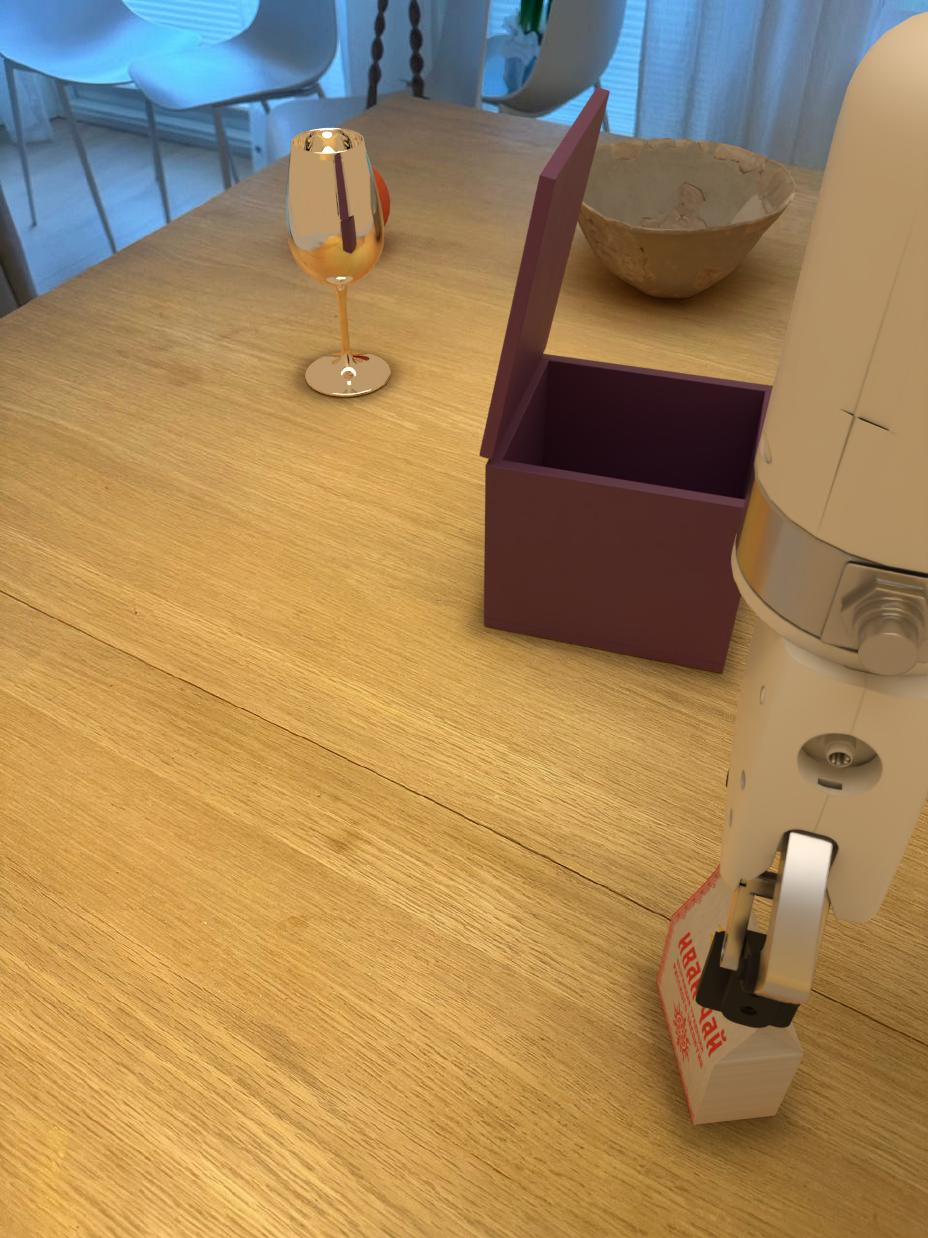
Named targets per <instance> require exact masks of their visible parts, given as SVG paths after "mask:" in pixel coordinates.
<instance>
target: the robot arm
mask: <svg viewBox="0 0 928 1238" xmlns="http://www.w3.org/2000/svg"><path fill="white" fill-rule="evenodd" d="M845 90H846V91H845V95H844V97H843V100H842V104H841V107H840V110H839V114H838V118H837V121H836V124H835V128H834V132H833V136H832V141H831V145H830V148H829V152H828V156H827V160H826V165H825V169H824V173H823V178H822V181H821V185H820V190H819V194H818V198H817V202H816V206H815V211H814V214H813V219H812V222H811V227H810V231H809V235H808V239H807V244H806V247H805V252H804V256H803V260H802V264H801V268H800V273H799V275H798V276H799V277H798V281H797V284H796V288H795V293H794V297H793V301H792V306H791V310H790V314H789V318H788V321H787V325H786V330H785V334H784V338H783V343H782V346H781V351H780V355H779V359H778V363H777V367H776V370H775V375H774V379H773V383H772V384H773V385H772V386H773V388H772V392H771V396H770V400H769V404H768V409H767V413H766V417H765V421H764V425H763V429H762V433H761V438H760V442H759V446H758V450H757V452H756V457H755V461H754V465H753V469H752V473H751V477H750V481H749V485H748V489H747V494H746V498H745V502H744V506H743V510H742V514H741V518H740V522H739V526H738V531H737V534H736V537H735V541H734V545H733V550H732V555H731V566H732V572H733V578H734V581H735V582H736V584H737V587H738V589H739V592H740V594H741V597H742V598H743V600H744V601H745V603H746V604H747V605H748V607H749V609H751V610H752V612H753V613H754V614H755V615H756V616H757V617H756V620H755V624H754V628H753V632H752V635H751V639H750V643H749V647H748V652H747V657H746V661H745V665H744V669H743V675H742V680H741V685H740V691H739V697H738V702H737V706H736V707H737V708H736V713H735V720H734V725H733V733H732V741H731V750H730V759H729V767H728V770H727V774H726V780H725V787H726V794H725V803H724V804H725V805H724V817H723V829H722V839H721V840H722V841H721V851H720V860H719V864H720V874H721V876H722V878H723V880H724V881H725V883H726V884H727V885H728V886H729V888H730V889H731V890H732V891H733V892H734V894H733V899H732V904H731V908H730V913H729V917H728V922H727V926H726V931H720V932H717V931H716V932H715V935H714V938H713V941H712V944H711V947H710V950H709V953H708V956H707V959H706V962H705V965H704V967H703V970H702V973H701V976H700V979H699V982H698V985H697V992H696V999H695V1001H696V1003H697V1004H698V1005H700V1006H702V1007H705V1008H708V1009H712V1010H715V1011H719V1012H722V1014H723V1016H724V1017H725V1018H726V1019H728V1020H729V1021H731V1022H734V1023H737V1024H740V1025H744V1026H748V1027H752V1028H764V1027H767V1026H769V1025H770V1026H773V1027H778V1028H786V1027H788V1026H789V1025H790V1024H791V1022H793V1020H794V1018H795V1016H796V1013H797V1011H798V1009H799V1007H800V1006H802V1005H803V1004H807V1003H808V1001H809V999H810V995H811V992H812V986H813V983H814V978H815V976H816V975H815V974H816V972H817V966H818V961H819V957H820V956H819V955H820V952H821V948H822V945H823V940H824V935H825V930H826V925H827V921H828V917H829V913H830V908H831V910H832V913H833V915H834V918H835V919H836V920H838V921H843V922H848V923H853V924H859V925H863V924H865V923H867V922H868V921H870V920H872V918H873V917H874V916H876V915H877V914H878V912H879V911H880V909H881V907H882V904H883V903H884V901H885V899H886V896H887V894H888V892H889V890H890V887H891V885H892V882H893V880H894V878H895V875H896V873H897V870H898V869H899V866H900V863H901V862H902V859H903V857H904V854H905V852H906V850H907V848H908V844H909V843H910V840H911V838H912V835H913V833H914V831H915V828H916V826H917V824H918V821H919V819H920V816H921V814H922V811H923V809H924V806H925V804H926V801H927V798H928V11H924V12H921V13H917V14H914V15H912V16H910V17H909V18H908V17H907V19H905V20H904V21H901V22H900V23H898V24H897V25H895V26H894V27H892V28H890V29H888V30H887V31H885V32H884V33H883V34H882V35H881V37H880V38H878V39H877V40H876V42H874V44H873V45H871V46H870V48H869V49H868V50H867V52H866V53H865V55H864V56H863V58H862V59H861V61H860V62H859V64H858V66H857V67H856V68H855V70H854V72H853V74H852V76H851V78H850V81H849V83H848V85H847V88H846V89H845ZM777 852H779V853H780V856H779V860H778V868H777V872H775V871H771V870H769V869H770V868H771V867H772V866H773V863H774V860H775V857H776V854H777ZM755 896H756V897H761V898H763V899H768V900H772V903H771V909H770V916H769V922H768V927H767V933H762V932H761V933H759V932H755V931H751V930H747V928H748V924H749V919H750V915H751V910H752V907H753V906H754V901H755Z"/></svg>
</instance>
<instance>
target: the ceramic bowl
mask: <svg viewBox="0 0 928 1238" xmlns="http://www.w3.org/2000/svg"><path fill="white" fill-rule="evenodd" d="M797 188H798V187H797V185H796V182H795V180H794V178H793V176H792V175H791V173H790V171H789V170H788V169H787V167H786V166H785V165H784V164H782V163H781V162H779V161H777V160H774V159H773V158H769V159H768V157H767V156H766V155H764V154H758V153H755V152H753V151H750V150H748V149H745V148H742V147H740V146H735V145H732V144H728V143H723V142H717V141H714V140H709V141H708V140H703V139H700V140H698V141H697V140H696V139H695V138H693V139H692V138H677V139H675V138H671V137H663V138H661V137H660V138H650V139H648V140H647V141H645V140H644V139H630V140H624V141H620V142H614V143H608V142H607V143H604V144H602V145H598V146H596V150H595V154H594V158H593V162H592V166H591V170H590V174H589V178H588V182H587V186H586V190H585V194H584V198H583V202H582V206H581V210H580V214H579V218H578V222H577V224H578V225H579V227H580V229H581V232H582V234H583V237H584V240H585V241H586V242H587V244H588V246H589V247H590V249H591V250H592V252H593V254H594V255H595V257H596V259H598V261H599V262H600V263H601V264H602V265H603V267H604V268H605V269H606V270H608V271H609V272H610V274H612V275H614V277H617V278H618V279H620V280H621V281H623V282H625V283H626V284H628V285H629V286H631V287H633V288H635V289H637V290H638V291H640V292H642V293H644V294H645V295H648V296H650V297H653V298H660V299H685V298H690V297H694V296H695V295H697V294H700V293H701V292H703V291H705V290H708V289H709V288H711V286H713V285H715V284H716V283H717V282H720V281H721V280H724V278H726V277H727V276H729V275H730V274H731V273H732V272H733V271H734V270H735V269H736V268H737V266H739V264H740V263H741V262H743V260H744V259H745V258H746V256H747V255H748V254H750V252H751V251H752V250H753V249H754V248H755V246H756V245H757V244H758V242H759V241H760V239H761V238H762V237H763V235H764V234H765V233H766V232H767V231H768V229H769V228H770V227H771V226H772V225H774V223H775V222H776V221H777V220H778V219H780V217H781V215H782V214H783V213H784V211H785V210H786V209H787V208H788V207H789V206H790V204H791V203H792V202H793V200H794V199H795V197H796V194H797V190H798V189H797Z"/></svg>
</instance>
